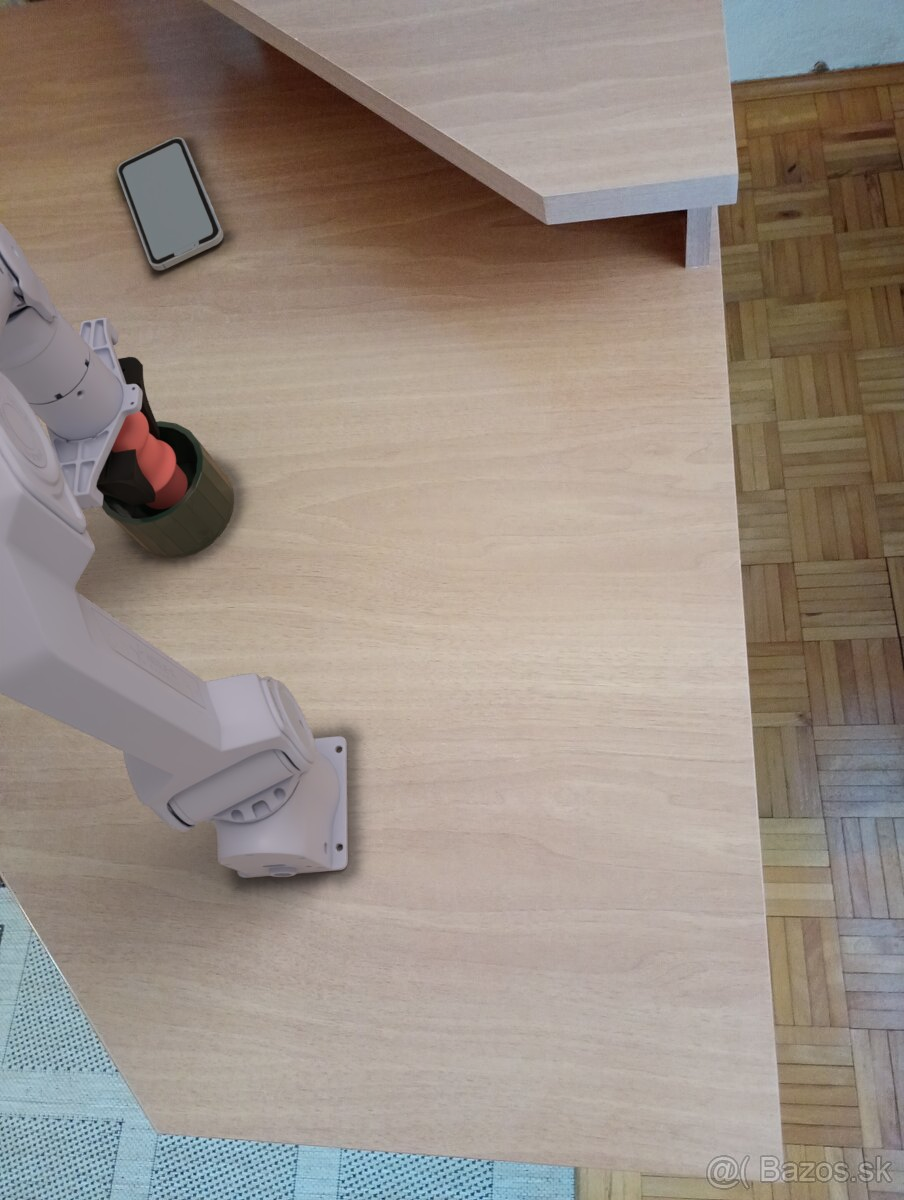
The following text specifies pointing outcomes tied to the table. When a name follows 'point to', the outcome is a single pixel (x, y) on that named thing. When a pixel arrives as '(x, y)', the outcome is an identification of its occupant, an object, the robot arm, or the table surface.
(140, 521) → the cup
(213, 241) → the smartphone
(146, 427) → the figurine
